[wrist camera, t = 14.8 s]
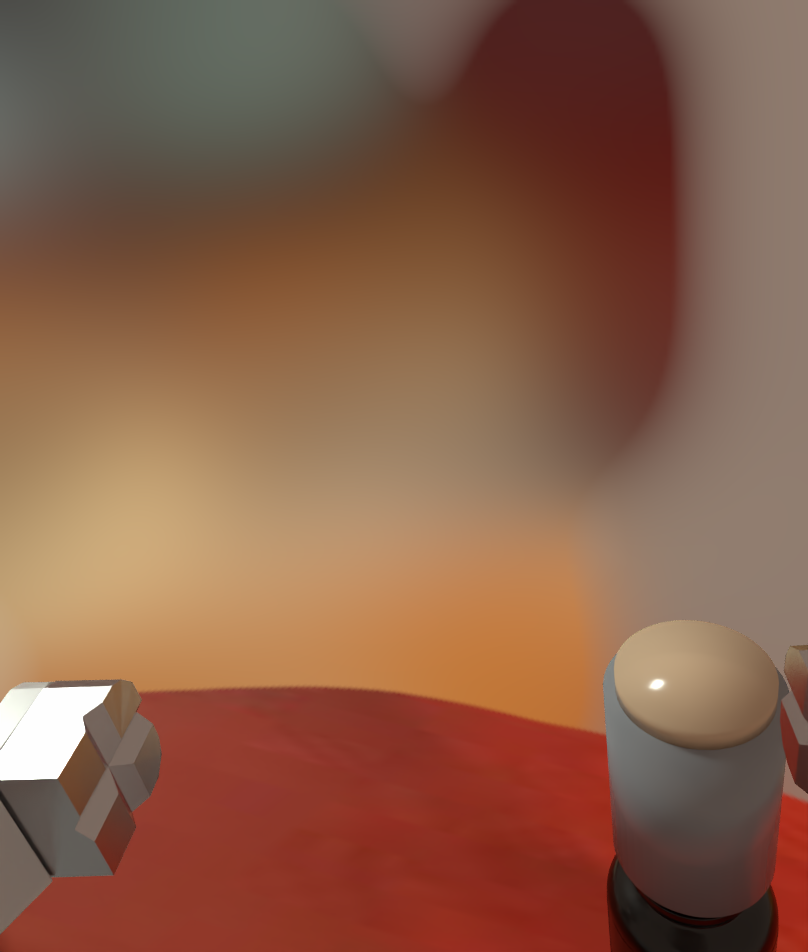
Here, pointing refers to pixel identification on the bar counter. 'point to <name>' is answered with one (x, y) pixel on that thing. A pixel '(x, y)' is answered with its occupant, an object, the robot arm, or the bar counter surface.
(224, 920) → the bar counter surface
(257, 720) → the bar counter surface
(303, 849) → the bar counter surface
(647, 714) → the sugar jar
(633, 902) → the supplement bottle
